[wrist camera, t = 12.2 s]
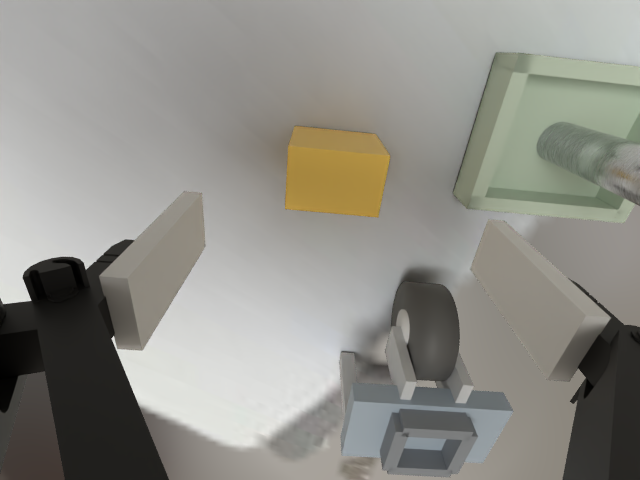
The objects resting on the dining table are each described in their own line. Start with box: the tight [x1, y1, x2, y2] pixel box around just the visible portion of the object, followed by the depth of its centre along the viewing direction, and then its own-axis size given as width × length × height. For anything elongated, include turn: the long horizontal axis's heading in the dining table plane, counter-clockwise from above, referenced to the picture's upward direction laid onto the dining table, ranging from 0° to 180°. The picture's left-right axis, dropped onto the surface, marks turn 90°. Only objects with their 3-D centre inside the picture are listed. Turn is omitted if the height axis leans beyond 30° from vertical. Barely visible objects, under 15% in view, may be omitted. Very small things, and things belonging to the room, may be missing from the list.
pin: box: [537, 122, 640, 206], centre depth 19 cm, size 4×4×15 cm
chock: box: [285, 126, 390, 217], centre depth 24 cm, size 4×6×6 cm, turn 84°
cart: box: [339, 282, 513, 477], centre depth 29 cm, size 12×13×11 cm
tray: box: [453, 53, 640, 223], centre depth 24 cm, size 10×12×3 cm
